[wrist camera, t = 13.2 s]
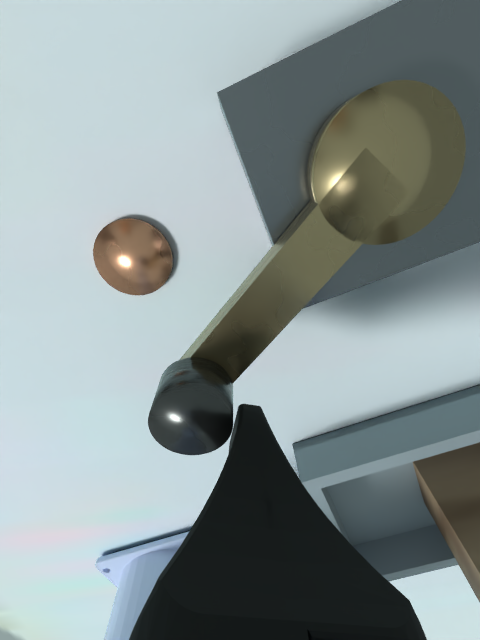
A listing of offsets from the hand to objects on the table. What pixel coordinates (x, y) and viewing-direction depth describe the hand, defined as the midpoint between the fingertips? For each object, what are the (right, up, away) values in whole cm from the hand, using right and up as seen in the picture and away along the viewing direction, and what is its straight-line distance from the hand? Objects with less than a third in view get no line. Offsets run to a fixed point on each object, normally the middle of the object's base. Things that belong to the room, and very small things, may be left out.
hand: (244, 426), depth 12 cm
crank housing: (0, +8, +1) cm, 8 cm away
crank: (+1, +5, -1) cm, 5 cm away
